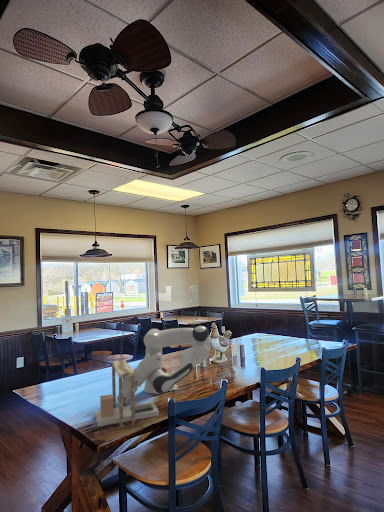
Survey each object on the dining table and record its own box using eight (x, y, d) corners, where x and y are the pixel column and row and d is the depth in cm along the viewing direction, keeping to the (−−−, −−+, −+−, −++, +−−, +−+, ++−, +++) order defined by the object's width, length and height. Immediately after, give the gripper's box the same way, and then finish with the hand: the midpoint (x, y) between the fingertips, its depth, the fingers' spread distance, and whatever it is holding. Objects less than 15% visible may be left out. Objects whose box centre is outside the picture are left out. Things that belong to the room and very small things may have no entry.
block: (112, 411, 186) (111, 394, 186) (113, 415, 180) (113, 398, 181) (100, 413, 184) (100, 396, 184) (101, 417, 178) (101, 399, 179)
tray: (152, 406, 198) (152, 402, 198) (159, 415, 184) (159, 410, 185) (95, 416, 186) (95, 411, 187) (97, 426, 173) (97, 421, 173)
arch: (126, 406, 199) (125, 359, 201) (135, 425, 173) (134, 372, 174) (112, 408, 196) (111, 361, 198) (120, 428, 170) (119, 374, 172)
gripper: (143, 388, 178) (124, 410, 175) (136, 377, 198) (119, 397, 194) (134, 380, 177) (115, 402, 174) (129, 370, 197) (111, 390, 193)
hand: (117, 399), depth 184 cm, fingers closed
